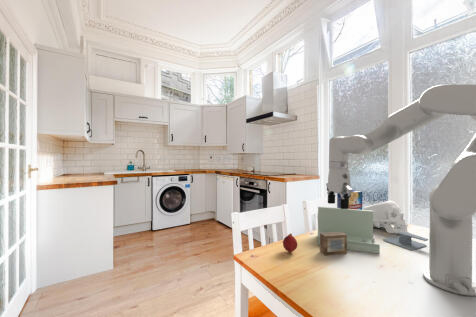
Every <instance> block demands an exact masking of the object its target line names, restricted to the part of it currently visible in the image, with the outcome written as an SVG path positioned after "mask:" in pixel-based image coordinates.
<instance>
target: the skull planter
mask: <svg viewBox="0 0 476 317" xmlns="http://www.w3.org/2000/svg"><path fill="white" fill-rule="evenodd" d="M362 210H369V211H373V228H377V229H380V228H384V230H385V231H386V232H387V233H388V234H396V235H397V234H398V235H399V232H407V233H410V232H409V231H408V227H409V225H408V223H407V222H406V220H405V219H404V215H405V214H404V213H403V212H402V209H401V207H400V206H399V205H398V204H397V202H395V201H393V200H388V201H387V200H386V201H383V202H378V203H374V204H370V205H367V206H364V207H362Z"/></svg>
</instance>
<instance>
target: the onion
mask: <svg viewBox="0 0 476 317" xmlns="http://www.w3.org/2000/svg"><path fill="white" fill-rule="evenodd" d="M282 245H283V248H284V250H286V252H288V253H293V252H294V251H296V250H297V248H298V241H297V238H295V237H294V236H293V234H292V233H288V234H287V235H286V236H285V237H284V239H283V241H282Z"/></svg>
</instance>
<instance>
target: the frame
mask: <svg viewBox="0 0 476 317" xmlns="http://www.w3.org/2000/svg"><path fill="white" fill-rule="evenodd" d="M319 252H320V253H321V254H322V255H323V256H335V255H337V254H338V255H347V253H348V249H347V235H346V234H345V233H343V232H330V233H320V245H319Z"/></svg>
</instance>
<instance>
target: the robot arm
mask: <svg viewBox="0 0 476 317" xmlns="http://www.w3.org/2000/svg"><path fill="white" fill-rule="evenodd" d="M446 115H454V116H455V115H456V116H468V117H470V118H472V119H473V120H474V121H475V122H476V84H468V83H466V84H459V83H458V84H453V83H451V84H439V85H438V84H437V85H434V86H431V87H429V88H427V89H426V90H425V91H423V92H422V93H421V95H420V97H419V98H418V99H417V100H415V101H413V102H411V103H410V104H408V105H406V106H405V107H403V108H400V109H399V110H397V111H395V112H393V113H391V114H389V116H388V117H387V118H386V119H385V121H383V123H381V125H379V126H377V127H376V128H375V129H374V130H371V131H370V132H368V133H366V134H364V135H360V134H355V135H354V134H353V135H350V136H349V135H348V136H333V137H330V138H329V141H328V142H329V143H328V145H329V147H328V148H329V149H328V177H327V183H326V184H325V185H326V191H327V192H326V194H327V203H328V204H329V205H330V204H334V205H335V204H336V194H337V193H339V194H340V195H341V198H342V199H341V201H340V208H341V209H348V208H349V199H350V196H351V193H352V190H353V189H352V188H351V187H352V186H351V175H350V170H349V158H350V157H349V156H350V155H349V154H352V155H353V154H354V155H367V154H369V153H372V152H374V151H376V150H378V149H380V148H382V147H384V146H386V145H389V143H391V142H394V141H395V140H398V139H399V138H402V137H403V136H406V135H407V134H409V133H411V132H412V131H415V130H417V129H419V128H421V127H423V126H426V125H427V124H430V123H431V122H433V121H436V120H438V119H440V118H442V117H443V116H446ZM335 193H336V194H335ZM343 194H345V195H343ZM428 200H429V201H428V202H429V235H428V237H429V238H428V240H429V244H428V245H429V250H428V251H429V257H428V258H429V264H428V265H429V266H428V268H429V269H425V270H424V271H422V272H423V273H422V276H423V279H424V280H426V281H427V282H428V283H429V284H431V285H433V286H435V287H437V288H439V289H441V290H444V291H447V292H449V293H452V294H455V295H456V294H457V295H460V296H461V295H462V296H468V297H470V296H471V297H474V296H476V283H475V282H473V215H475V213H476V133H475V134H474V135H473V136H472V138H471V140H470V142H469V143H468V144H467V145H466V146H465V149H464V150H463V151H462V152H461V153H460V155H459V156H458V157H457V158H456V159H455V160H454V161H453V162H452V164H451V167H450V169H449V170H448V172H447V173H446V175H445V176H444V177H443V178H442V180H441V181H440V183H439V184H438V185H437V186H435V187H434V188H432V189H431V190H430V193H429V199H428Z"/></svg>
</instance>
